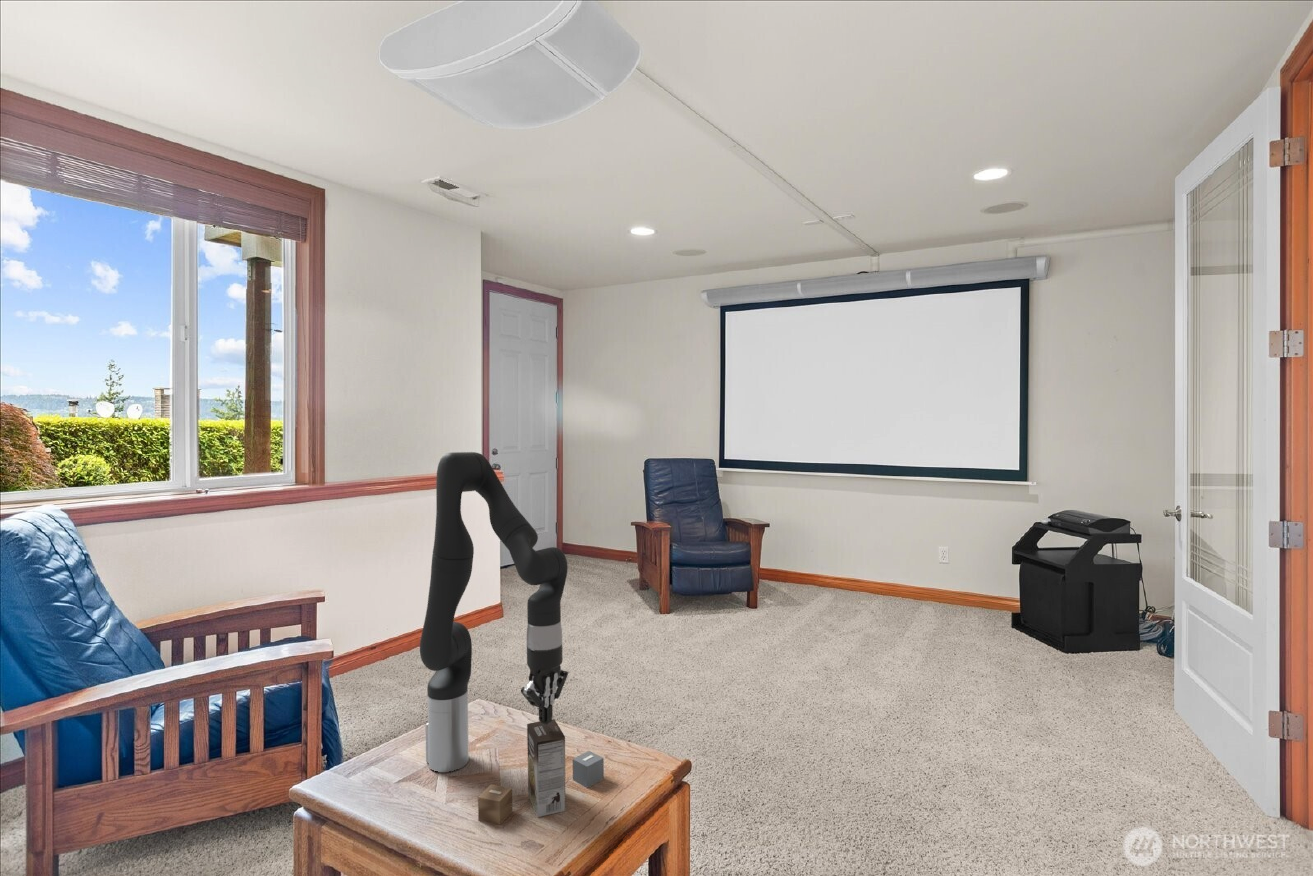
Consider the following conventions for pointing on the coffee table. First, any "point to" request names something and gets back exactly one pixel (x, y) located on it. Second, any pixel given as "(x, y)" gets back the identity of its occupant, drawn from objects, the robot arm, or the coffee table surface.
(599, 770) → the slate block
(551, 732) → the coffee box
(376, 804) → the coffee table surface
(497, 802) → the walnut block
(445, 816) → the coffee table surface
